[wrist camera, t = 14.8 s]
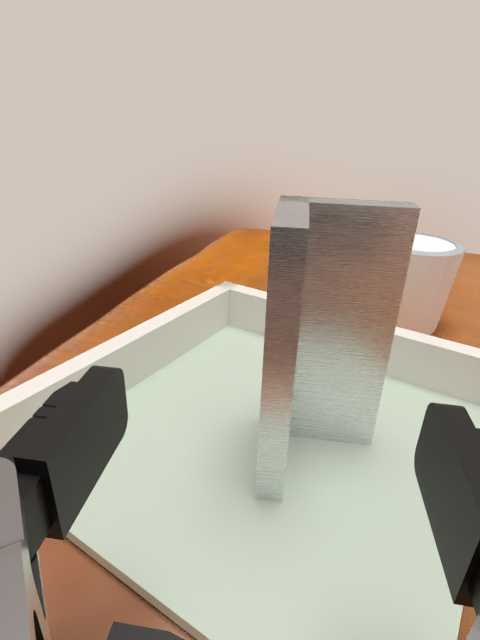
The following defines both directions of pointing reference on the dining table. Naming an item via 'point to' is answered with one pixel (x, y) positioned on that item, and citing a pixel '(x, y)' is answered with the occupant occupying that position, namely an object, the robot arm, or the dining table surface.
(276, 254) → the bracket
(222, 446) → the arena
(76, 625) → the dining table surface
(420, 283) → the white cup
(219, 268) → the dining table surface
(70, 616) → the dining table surface
